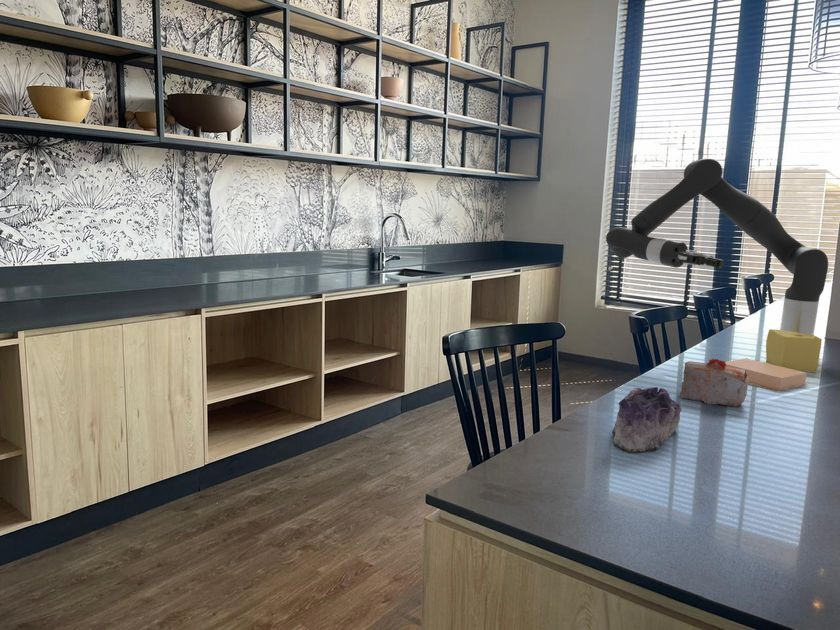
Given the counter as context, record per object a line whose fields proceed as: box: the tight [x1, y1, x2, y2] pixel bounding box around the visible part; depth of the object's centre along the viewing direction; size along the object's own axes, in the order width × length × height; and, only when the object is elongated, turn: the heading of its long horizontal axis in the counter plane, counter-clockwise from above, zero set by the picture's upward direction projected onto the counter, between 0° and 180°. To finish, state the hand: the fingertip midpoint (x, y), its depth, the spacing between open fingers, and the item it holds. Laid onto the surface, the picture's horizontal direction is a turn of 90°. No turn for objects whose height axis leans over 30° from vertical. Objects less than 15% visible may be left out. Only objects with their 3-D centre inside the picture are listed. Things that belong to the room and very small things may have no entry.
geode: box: [611, 386, 682, 454], centre depth 120 cm, size 20×12×10 cm, turn 149°
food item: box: [679, 358, 749, 407], centre depth 146 cm, size 14×8×10 cm, turn 64°
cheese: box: [765, 329, 822, 373], centre depth 181 cm, size 10×11×10 cm
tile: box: [724, 358, 808, 391], centre depth 166 cm, size 12×3×16 cm
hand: (721, 264), depth 174 cm, fingers closed
